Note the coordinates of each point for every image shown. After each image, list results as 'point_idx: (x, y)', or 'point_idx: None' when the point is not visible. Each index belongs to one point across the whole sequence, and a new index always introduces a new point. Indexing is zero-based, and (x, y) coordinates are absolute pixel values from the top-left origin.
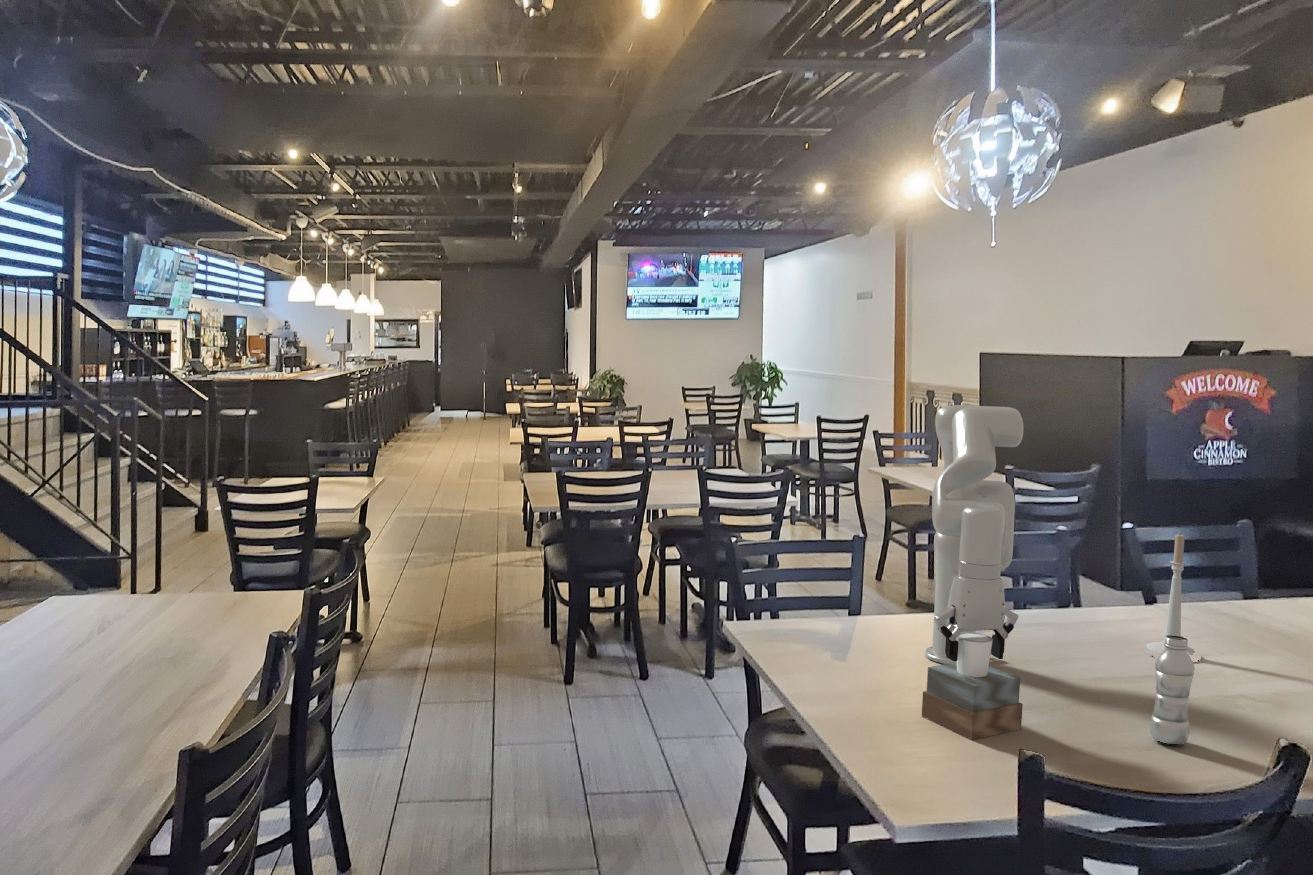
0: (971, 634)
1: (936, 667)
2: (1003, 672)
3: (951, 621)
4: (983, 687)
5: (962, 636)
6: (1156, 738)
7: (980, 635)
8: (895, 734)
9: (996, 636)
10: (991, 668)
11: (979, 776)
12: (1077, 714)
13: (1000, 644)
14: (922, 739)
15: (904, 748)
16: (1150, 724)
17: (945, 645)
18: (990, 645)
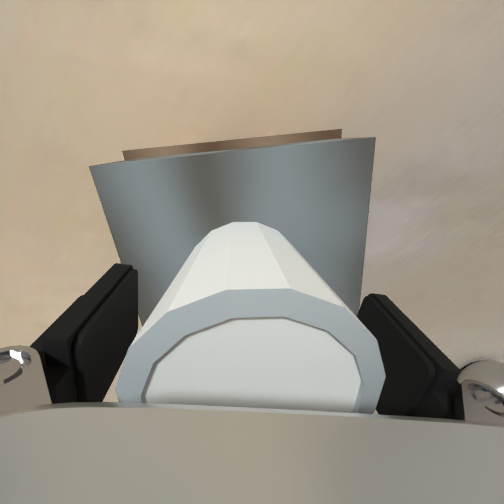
0: (293, 344)
1: (130, 182)
2: (349, 304)
3: (6, 436)
4: None
5: (179, 370)
6: (459, 379)
7: (337, 378)
8: (30, 226)
9: (423, 405)
10: (347, 260)
11: (111, 392)
12: (485, 250)
13: (377, 409)
14: (83, 264)
15: (24, 289)
16: (482, 382)
17: (56, 320)
18: None
